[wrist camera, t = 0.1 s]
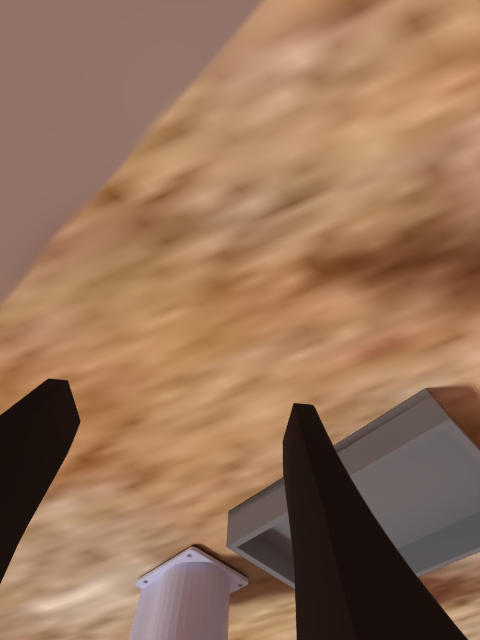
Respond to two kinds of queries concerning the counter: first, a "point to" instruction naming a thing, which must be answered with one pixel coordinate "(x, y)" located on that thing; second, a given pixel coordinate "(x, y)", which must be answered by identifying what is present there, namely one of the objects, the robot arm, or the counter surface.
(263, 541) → the charcoal tray
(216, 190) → the counter surface
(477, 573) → the counter surface
